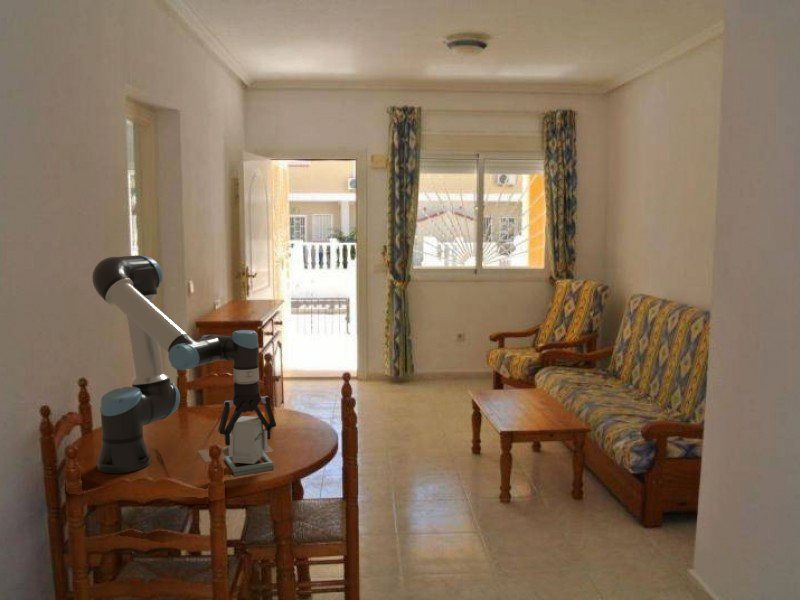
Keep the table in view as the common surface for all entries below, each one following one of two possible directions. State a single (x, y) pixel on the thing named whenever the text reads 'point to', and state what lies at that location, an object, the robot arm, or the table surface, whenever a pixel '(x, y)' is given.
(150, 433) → the table surface
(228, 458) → the grey-green flat square frame
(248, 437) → the supplement box
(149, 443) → the table surface
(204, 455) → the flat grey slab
